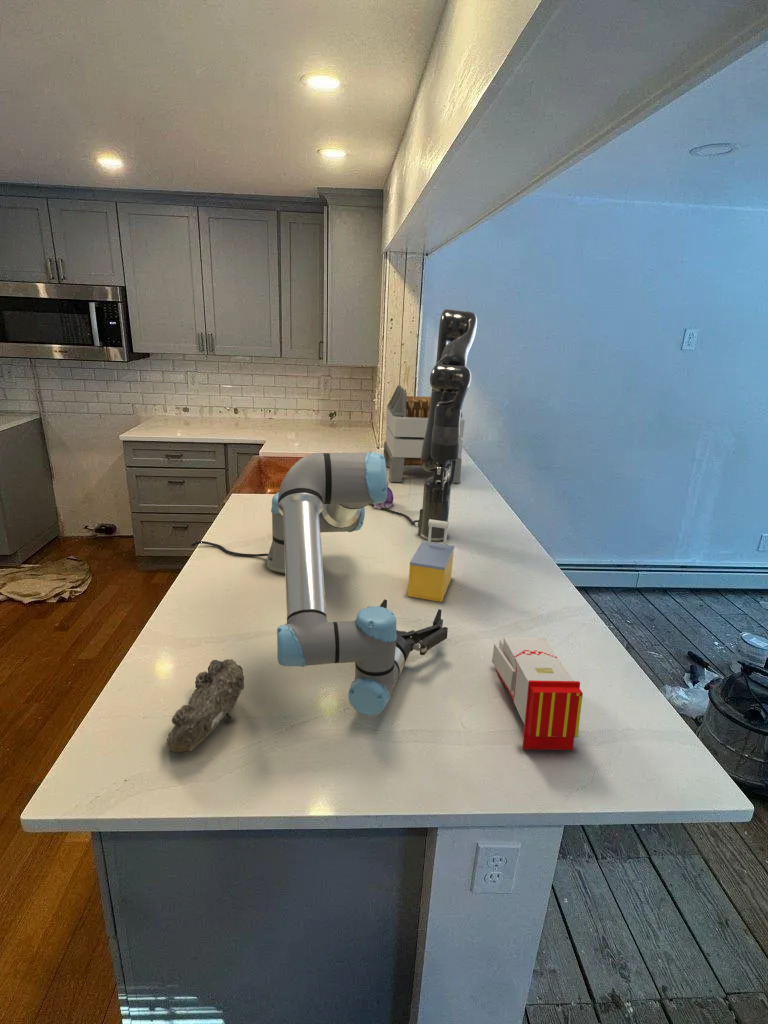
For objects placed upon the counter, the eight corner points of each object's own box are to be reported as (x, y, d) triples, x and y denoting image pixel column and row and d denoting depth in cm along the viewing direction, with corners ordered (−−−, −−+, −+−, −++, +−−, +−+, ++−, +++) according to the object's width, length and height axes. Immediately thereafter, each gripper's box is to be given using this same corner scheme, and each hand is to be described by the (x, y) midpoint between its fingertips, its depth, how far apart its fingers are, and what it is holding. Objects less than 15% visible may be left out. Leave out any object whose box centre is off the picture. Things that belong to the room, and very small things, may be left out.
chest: (419, 573, 170) (421, 544, 167) (451, 579, 168) (453, 549, 165) (407, 596, 157) (409, 565, 154) (441, 602, 154) (444, 570, 151)
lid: (422, 543, 168) (424, 515, 165) (454, 548, 166) (456, 520, 163) (409, 564, 154) (411, 534, 151) (444, 570, 151) (447, 539, 148)
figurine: (377, 511, 221) (379, 474, 216) (366, 503, 229) (367, 467, 224) (399, 508, 225) (401, 471, 220) (387, 500, 233) (388, 465, 228)
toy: (540, 621, 128) (592, 689, 99) (535, 675, 131) (584, 757, 102) (487, 620, 128) (523, 687, 98) (483, 674, 130) (517, 756, 101)
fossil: (192, 660, 117) (244, 628, 112) (224, 691, 120) (276, 661, 115) (142, 746, 98) (202, 712, 93) (182, 779, 101) (242, 748, 96)
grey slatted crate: (382, 463, 289) (386, 382, 275) (445, 464, 293) (451, 384, 279) (390, 482, 257) (394, 392, 243) (460, 483, 261) (468, 394, 247)
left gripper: (332, 660, 123) (363, 613, 142) (445, 684, 117) (461, 632, 136) (332, 630, 120) (364, 586, 140) (448, 653, 114) (464, 604, 133)
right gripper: (454, 447, 146) (449, 507, 152) (463, 437, 159) (458, 492, 165) (426, 444, 148) (422, 503, 153) (437, 434, 161) (432, 488, 166)
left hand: (412, 609), depth 138 cm, fingers open, 13 cm apart
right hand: (440, 497), depth 159 cm, fingers open, 8 cm apart
